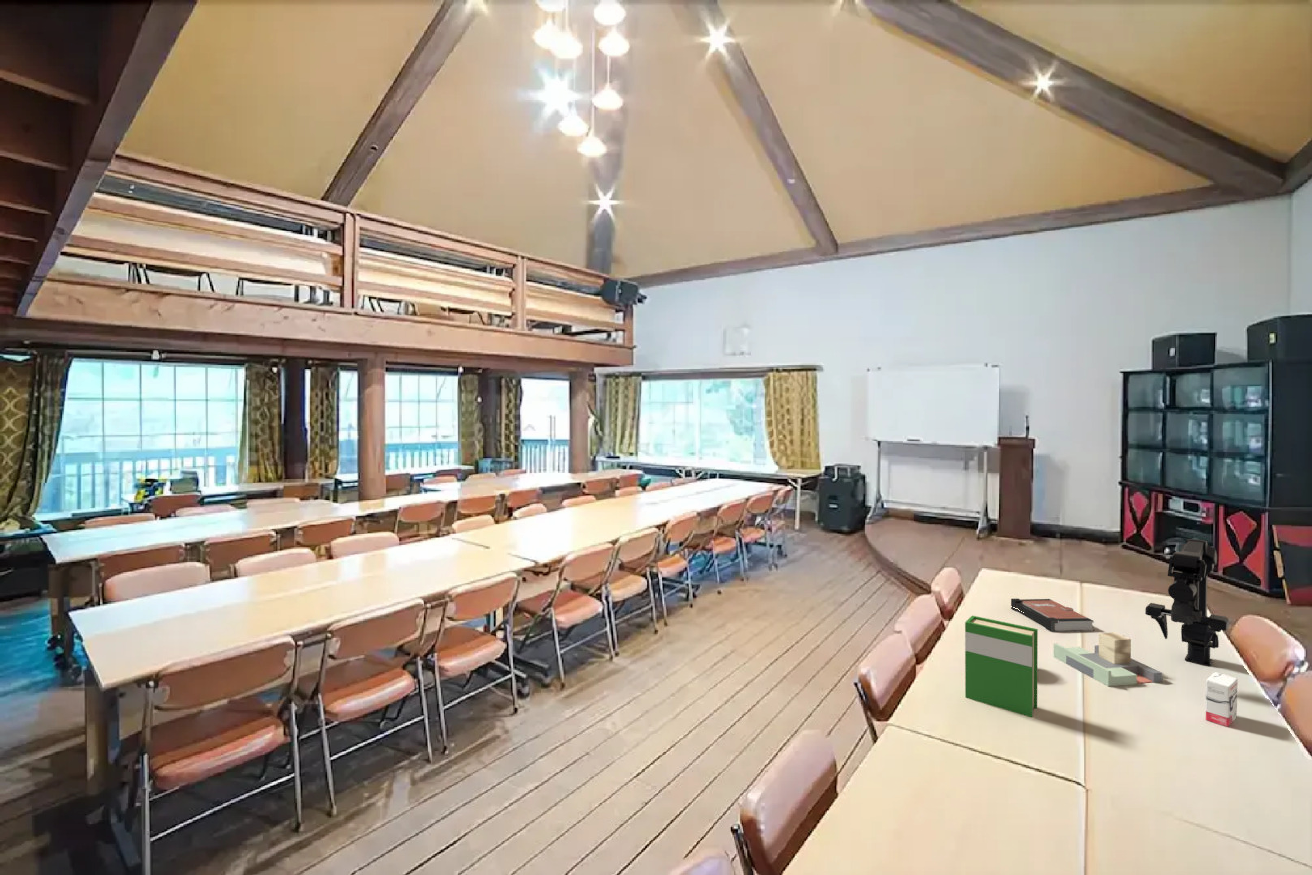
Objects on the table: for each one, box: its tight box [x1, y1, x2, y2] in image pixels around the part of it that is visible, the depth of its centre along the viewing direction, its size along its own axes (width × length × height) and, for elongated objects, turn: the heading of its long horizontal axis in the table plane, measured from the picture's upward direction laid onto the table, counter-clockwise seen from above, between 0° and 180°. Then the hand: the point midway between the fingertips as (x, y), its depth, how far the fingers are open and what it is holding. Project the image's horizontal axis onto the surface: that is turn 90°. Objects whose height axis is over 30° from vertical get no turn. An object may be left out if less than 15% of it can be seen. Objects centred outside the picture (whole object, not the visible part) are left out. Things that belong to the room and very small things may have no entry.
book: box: [1010, 598, 1095, 633], centre depth 240 cm, size 26×18×5 cm
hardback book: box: [964, 615, 1039, 718], centre depth 175 cm, size 18×7×24 cm, turn 46°
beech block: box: [1098, 631, 1132, 664], centre depth 195 cm, size 6×6×8 cm
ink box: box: [1205, 671, 1239, 728], centre depth 163 cm, size 8×5×12 cm, turn 123°
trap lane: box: [1053, 642, 1163, 687], centre depth 195 cm, size 19×22×5 cm
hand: (1185, 642), depth 180 cm, fingers open, 9 cm apart
